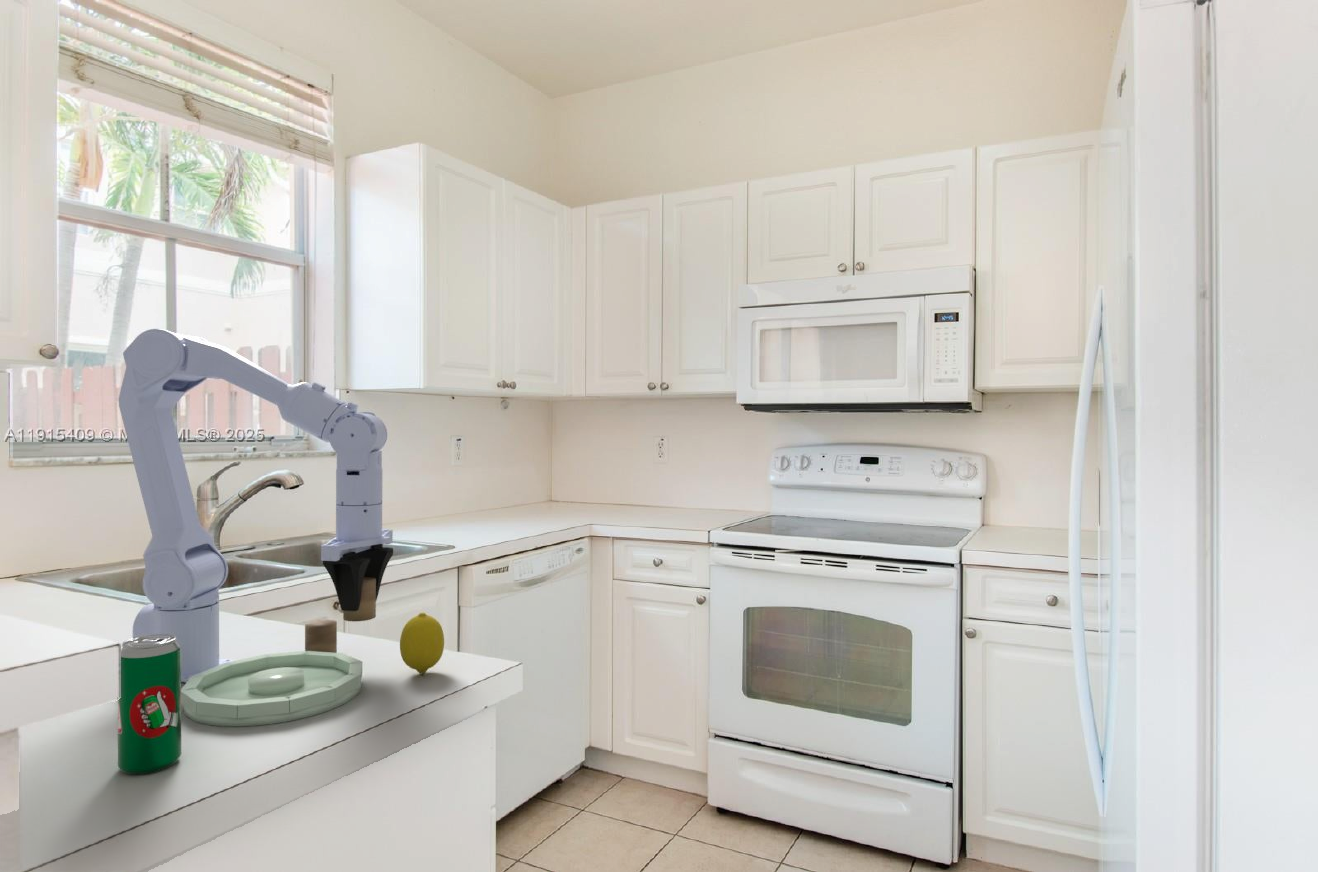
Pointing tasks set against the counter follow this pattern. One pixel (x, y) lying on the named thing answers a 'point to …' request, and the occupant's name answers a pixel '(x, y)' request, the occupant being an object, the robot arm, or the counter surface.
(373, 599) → the bead
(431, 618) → the lemon
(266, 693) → the tray
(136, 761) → the soda can
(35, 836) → the counter surface
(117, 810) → the counter surface
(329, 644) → the bead
